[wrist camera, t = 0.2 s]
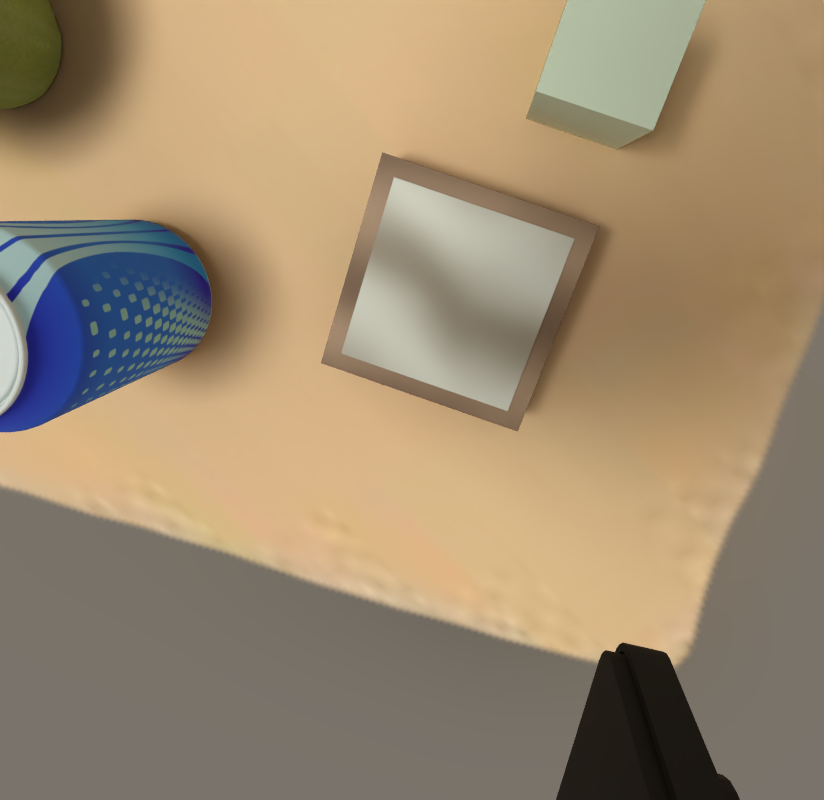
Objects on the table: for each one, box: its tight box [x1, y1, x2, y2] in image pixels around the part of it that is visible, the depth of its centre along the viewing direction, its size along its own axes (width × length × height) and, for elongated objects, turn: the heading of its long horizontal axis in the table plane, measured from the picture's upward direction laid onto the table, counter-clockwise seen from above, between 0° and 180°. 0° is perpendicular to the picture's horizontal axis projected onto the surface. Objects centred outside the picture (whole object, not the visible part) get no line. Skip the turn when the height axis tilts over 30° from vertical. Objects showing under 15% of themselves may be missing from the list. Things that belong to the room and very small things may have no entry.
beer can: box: [0, 220, 212, 432], centre depth 32 cm, size 8×8×16 cm
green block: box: [526, 0, 706, 149], centre depth 30 cm, size 5×5×8 cm
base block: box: [321, 153, 599, 431], centre depth 35 cm, size 11×11×4 cm
